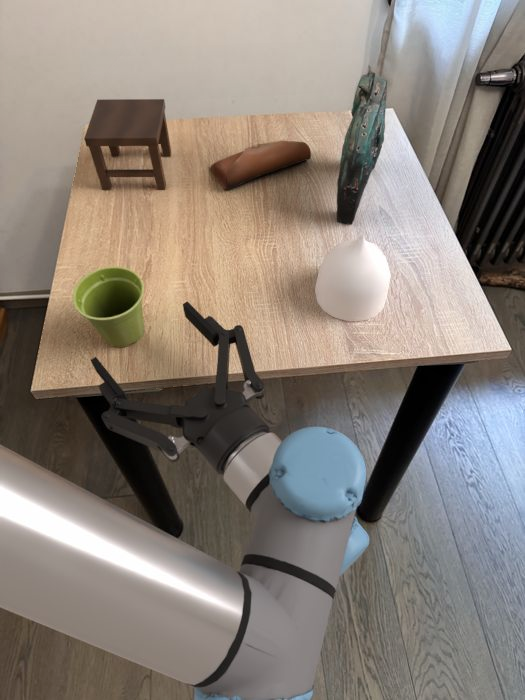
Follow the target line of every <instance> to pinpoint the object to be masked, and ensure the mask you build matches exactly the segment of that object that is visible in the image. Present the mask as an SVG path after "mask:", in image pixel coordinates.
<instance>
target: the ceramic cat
mask: <svg viewBox="0 0 525 700" xmlns="http://www.w3.org/2000/svg"><path fill="white" fill-rule="evenodd" d="M387 93H388V80H387V79H386V78H385V77H381V76H377V75H376V73H375V72H374V71H373V70H372V67H371V65H368V72H367V74H362V75H361V76H360V79H359V81H358V84H357V87H356V91H355V93H354V99H353V102H352V108H351V112H350V113H351V120H350V123H349V126H348V128H347V130H346V133H345V136H344V141H343V144H342V148H341V156H340V160H339V170H338V177H337V182H336V184H337V185H336V187H337V188H336V189H337V191H336V215H335V216H336V222H337V223H340V224H347V225H353V223H354V221H355V217H356V215H357V212H358V209H359V207H360V205H361V204H360V203H361V200H362V197H363V195H364V191H365V189H366V186H367V184H368V182H369V179H370V177H371V174H372V172H373V170H374V169H375V168H376V164H377V163H378V159H379V157H380V155H381V151H382V148H383V143H384V142H385V131H386V122H385V121H386V109H387V96H388V95H387Z"/></svg>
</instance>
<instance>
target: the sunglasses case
mask: <svg viewBox="0 0 525 700" xmlns="http://www.w3.org/2000/svg"><path fill="white" fill-rule="evenodd" d="M311 158H312V151H311V148H310V146H309V144H307V142H304V141H296V140H295V141H294V140H276V141H272V142H262V143H257V144H255V145H252V146H248V147H246V148H245V149H244V150H243V151H240V152H236V153H234V154H231V155H228V156H227V157H224V158H222V159H219V160H217V161H215V162H213V163H212V164H211V165H210V171H211V173H212V174H213V176H214V177H215V178H216V180H217V181H218V183H219V185H220V186H221V187H222V188H223V189H224V191H227V190H228V189H232V188H235V187H238V186H240V185H242V184H244V183H247V182H249V181H252V180H254V179H256V178H258V177H260V176H264V175H267V174H270V173H272V172H276V171H278V170H281V169H284V168H287V167H290V166H293V165H296V164H299V163H302V162H304V161H309V160H310V159H311Z"/></svg>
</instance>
